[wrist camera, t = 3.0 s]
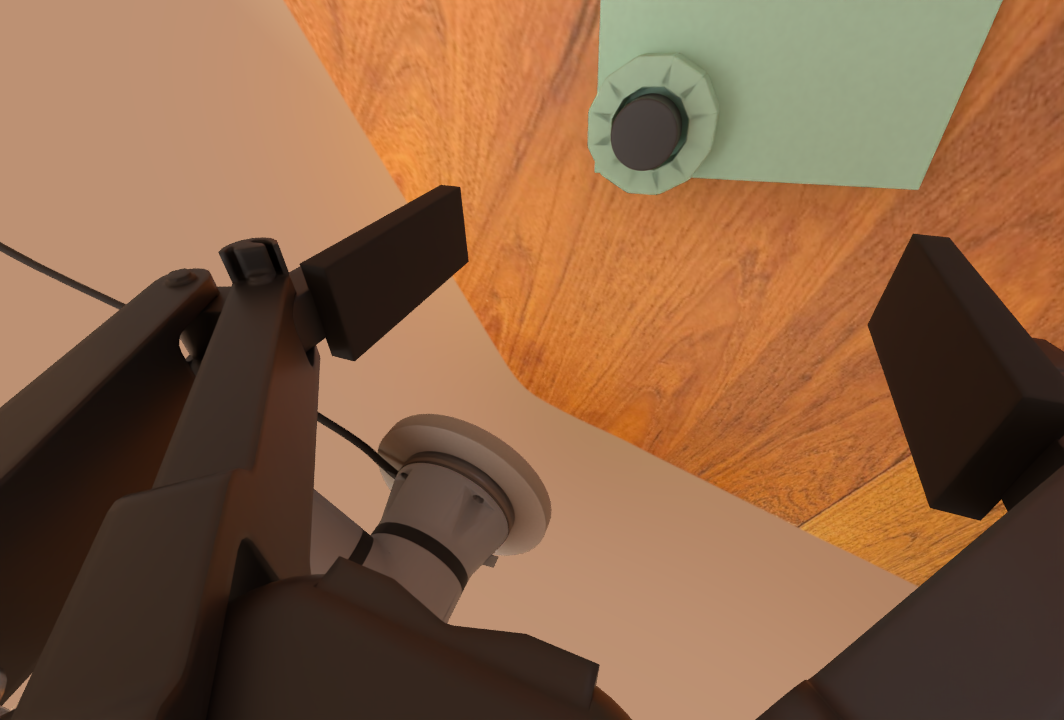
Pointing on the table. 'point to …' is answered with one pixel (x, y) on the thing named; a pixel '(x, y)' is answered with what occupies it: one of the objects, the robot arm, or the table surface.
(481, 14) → the table surface
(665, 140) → the button
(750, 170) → the scale
